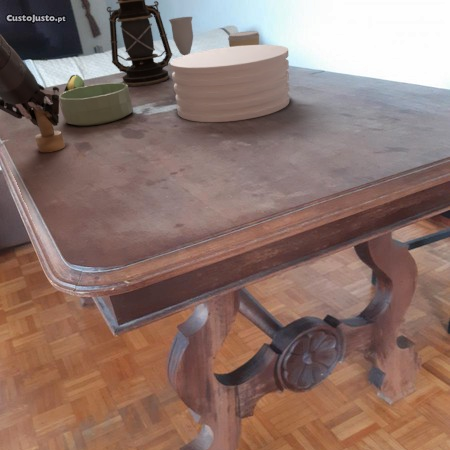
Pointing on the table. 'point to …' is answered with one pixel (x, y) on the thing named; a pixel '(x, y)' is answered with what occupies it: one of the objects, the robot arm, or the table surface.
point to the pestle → (47, 135)
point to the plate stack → (231, 83)
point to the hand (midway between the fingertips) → (48, 122)
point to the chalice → (182, 34)
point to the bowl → (96, 104)
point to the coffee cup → (244, 38)
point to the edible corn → (74, 82)
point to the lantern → (139, 42)
